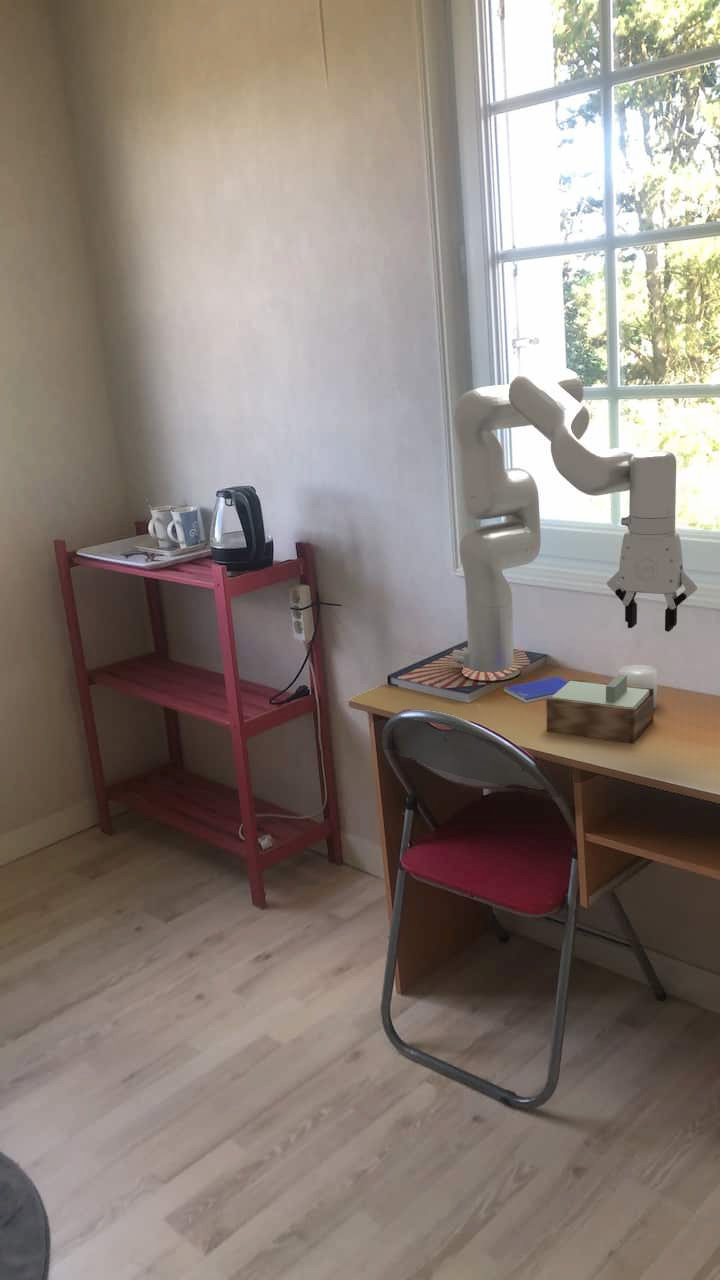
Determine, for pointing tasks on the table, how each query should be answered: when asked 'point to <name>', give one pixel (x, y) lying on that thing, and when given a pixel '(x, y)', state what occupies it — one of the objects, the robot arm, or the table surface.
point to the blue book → (536, 689)
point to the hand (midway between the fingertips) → (650, 626)
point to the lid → (604, 693)
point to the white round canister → (641, 677)
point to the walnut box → (600, 718)
